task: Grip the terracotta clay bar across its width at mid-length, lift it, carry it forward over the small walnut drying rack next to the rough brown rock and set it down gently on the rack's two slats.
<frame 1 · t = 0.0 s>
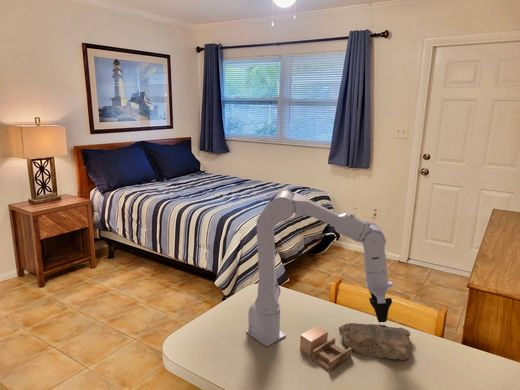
hand: (380, 313, 106), 11 cm above the table, tool pointing down, fingers open, 7 cm apart
rough brown rock: (373, 344, 110), on the table
clay bar: (313, 347, 108), on the table
rack: (331, 358, 103), on the table
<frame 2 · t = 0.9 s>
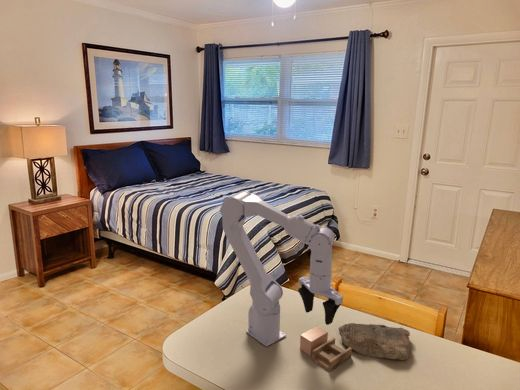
hand: (318, 317, 106), 10 cm above the table, tool pointing down, fingers open, 7 cm apart
nothing on the table moved.
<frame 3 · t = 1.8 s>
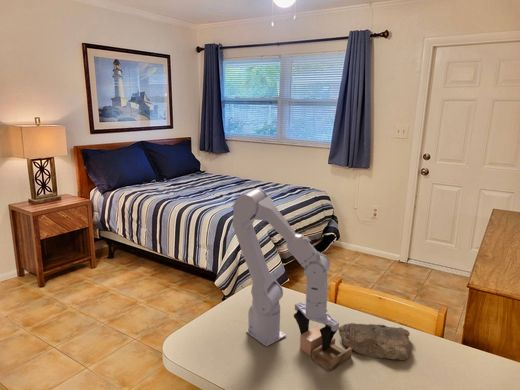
hand: (314, 342, 108), 2 cm above the table, tool pointing down, fingers open, 7 cm apart
nothing on the table moved.
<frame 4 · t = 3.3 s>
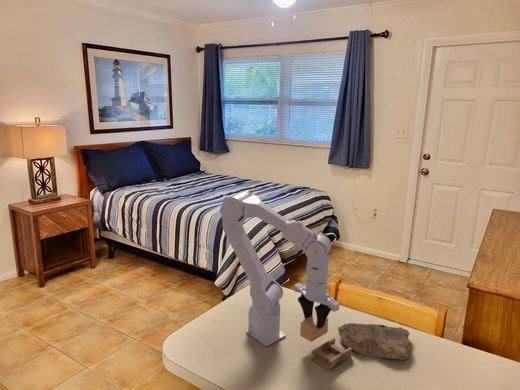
hand: (314, 323, 106), 7 cm above the table, tool pointing down, fingers closed on clay bar, 4 cm apart
clay bar: (313, 333, 107), point 4 cm above the table, touching gripper
everything else where it was.
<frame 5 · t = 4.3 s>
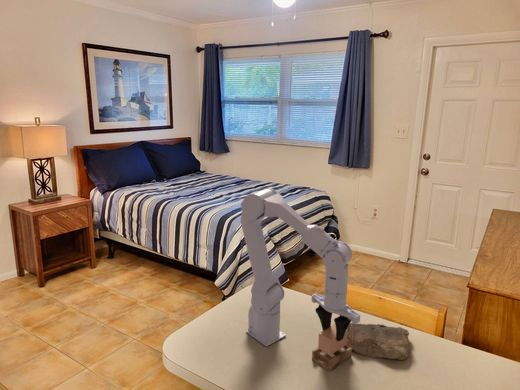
hand: (333, 335, 102), 7 cm above the table, tool pointing down, fingers closed on clay bar, 4 cm apart
clay bar: (332, 346, 102), point 4 cm above the table, touching gripper
everything else where it was.
when the fingers open (5 cm above the table, at t = 5.1 s): clay bar stays where it is, resting on rack.
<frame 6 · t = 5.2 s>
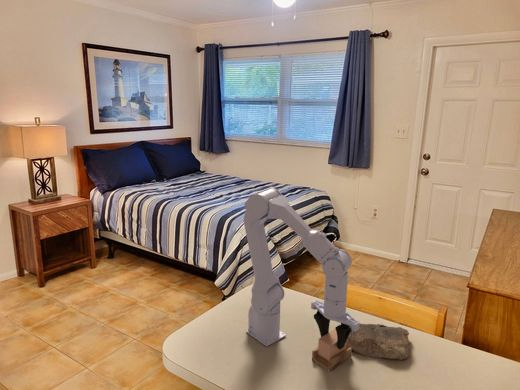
hand: (332, 342, 102), 5 cm above the table, tool pointing down, fingers open, 5 cm apart
clay bar: (332, 351, 103), point 2 cm above the table, touching rack
everything else where it was.
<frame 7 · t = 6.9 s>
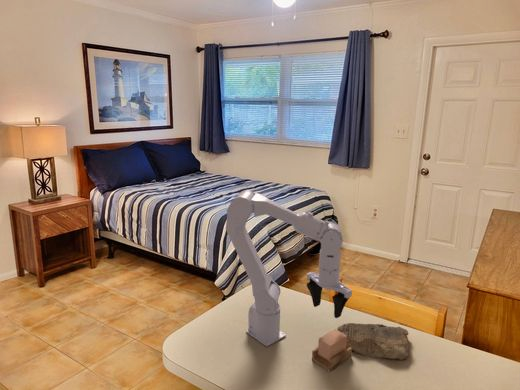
hand: (326, 310, 108), 10 cm above the table, tool pointing down, fingers open, 7 cm apart
nothing on the table moved.
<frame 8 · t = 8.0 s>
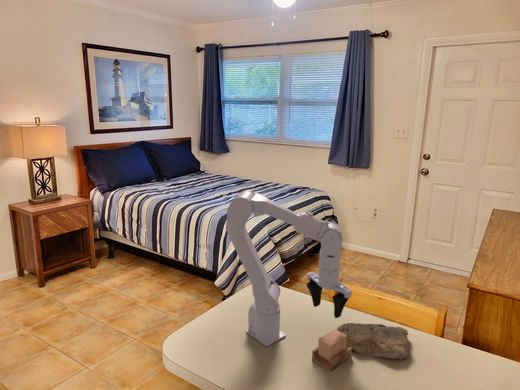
hand: (326, 310, 108), 10 cm above the table, tool pointing down, fingers open, 7 cm apart
nothing on the table moved.
at the end: clay bar 0.0 cm off-centre on the rack, point 2.0 cm above the rack's base; clay bar tilted 0°; the gripper is holding nothing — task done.
